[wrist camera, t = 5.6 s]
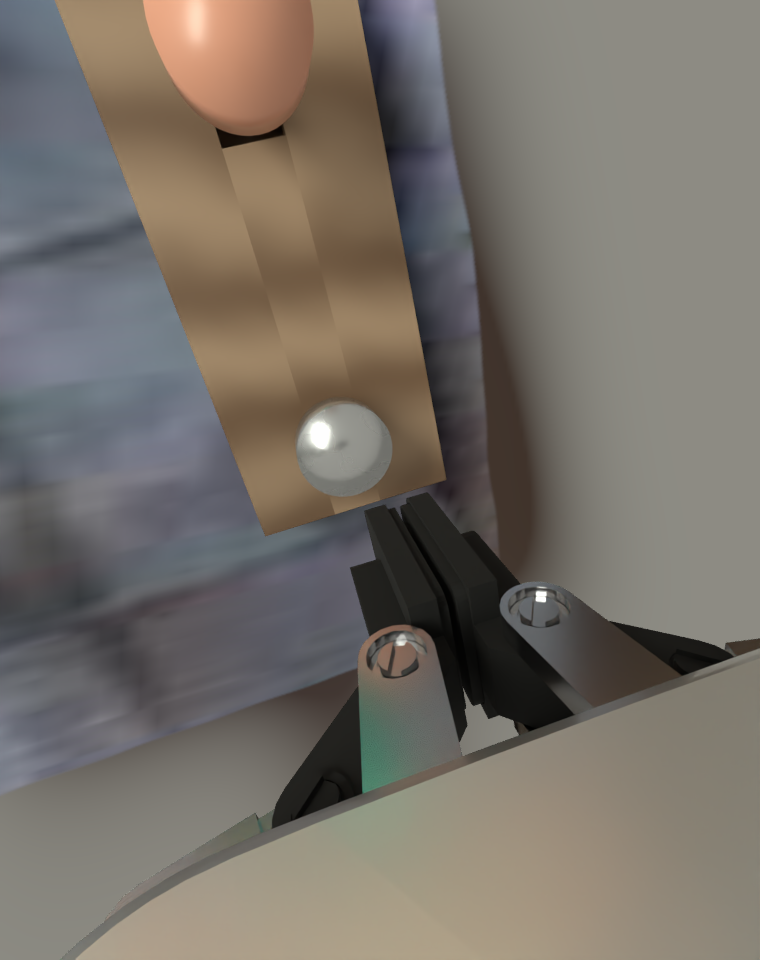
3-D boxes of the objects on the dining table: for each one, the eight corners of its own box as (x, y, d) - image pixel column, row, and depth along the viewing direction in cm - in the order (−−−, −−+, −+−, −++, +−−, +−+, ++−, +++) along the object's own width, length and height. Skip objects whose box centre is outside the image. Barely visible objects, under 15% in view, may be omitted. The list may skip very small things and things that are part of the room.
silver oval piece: (374, 442, 32) (400, 481, 25) (303, 463, 31) (313, 508, 25) (356, 371, 30) (380, 393, 23) (280, 392, 29) (284, 420, 23)
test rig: (422, 454, 34) (446, 479, 30) (266, 502, 33) (265, 536, 28) (329, -5, 23) (343, -76, 19) (90, 39, 22) (44, -27, 18)
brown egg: (313, 157, 22) (331, 100, 15) (209, 180, 21) (183, 131, 15) (280, 22, 20) (285, -111, 13) (164, 43, 19) (111, -84, 13)
